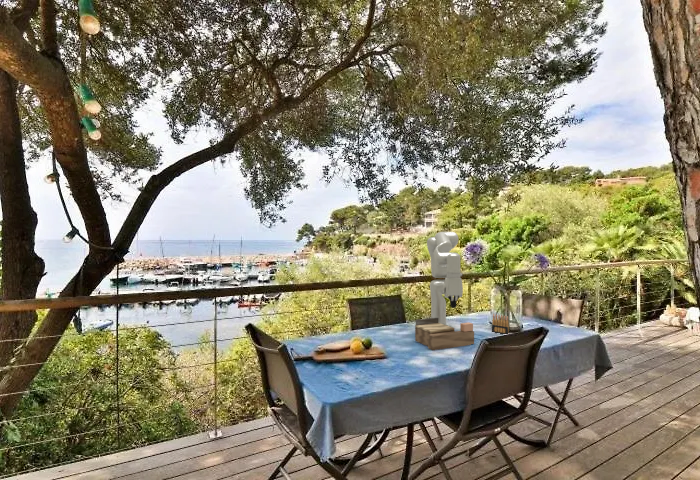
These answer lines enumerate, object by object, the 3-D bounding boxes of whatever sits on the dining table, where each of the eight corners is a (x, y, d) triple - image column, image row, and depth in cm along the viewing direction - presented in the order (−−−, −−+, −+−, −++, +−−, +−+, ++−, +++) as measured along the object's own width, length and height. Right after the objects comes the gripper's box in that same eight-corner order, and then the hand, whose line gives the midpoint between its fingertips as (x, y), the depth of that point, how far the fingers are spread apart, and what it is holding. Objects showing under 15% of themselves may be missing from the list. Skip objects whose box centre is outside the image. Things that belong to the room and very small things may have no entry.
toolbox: (412, 341, 254) (412, 327, 254) (451, 336, 266) (451, 323, 265) (432, 350, 235) (432, 335, 235) (474, 344, 247) (474, 330, 246)
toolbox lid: (415, 326, 255) (415, 319, 255) (437, 324, 261) (437, 317, 261) (430, 332, 240) (430, 325, 240) (454, 329, 247) (454, 322, 246)
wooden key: (460, 330, 247) (460, 323, 247) (468, 329, 250) (468, 322, 250) (464, 331, 244) (464, 324, 244) (473, 330, 246) (473, 323, 246)
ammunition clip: (491, 332, 274) (491, 313, 273) (493, 332, 275) (493, 313, 275) (508, 335, 266) (508, 316, 266) (509, 335, 268) (509, 315, 267)
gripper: (462, 274, 252) (462, 305, 253) (438, 275, 249) (438, 307, 250) (468, 275, 245) (468, 308, 246) (444, 276, 242) (443, 309, 242)
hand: (453, 307), depth 248 cm, fingers closed
